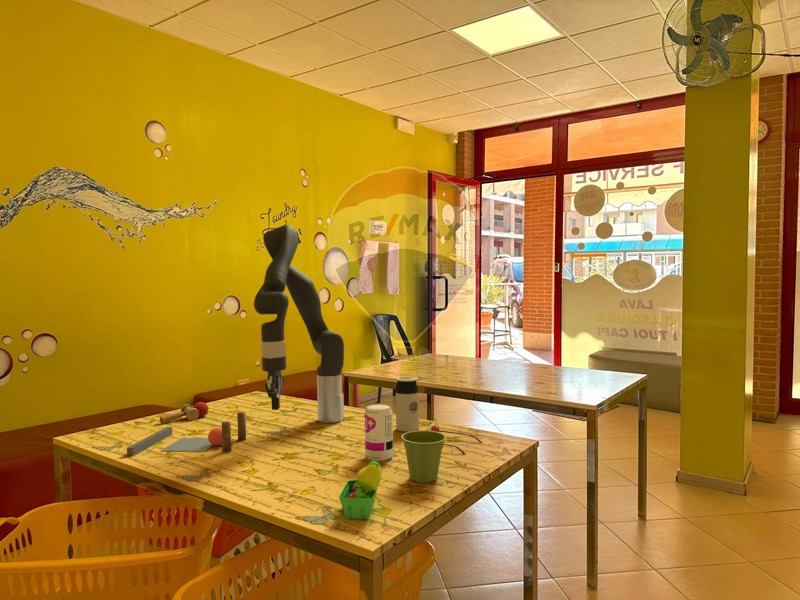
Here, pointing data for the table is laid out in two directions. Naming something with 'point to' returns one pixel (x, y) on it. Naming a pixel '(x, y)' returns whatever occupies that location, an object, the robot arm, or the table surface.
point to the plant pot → (423, 454)
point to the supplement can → (378, 432)
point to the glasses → (450, 432)
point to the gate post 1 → (226, 437)
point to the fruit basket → (361, 492)
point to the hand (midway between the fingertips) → (275, 409)
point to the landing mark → (189, 445)
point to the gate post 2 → (241, 426)
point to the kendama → (187, 412)
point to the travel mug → (407, 404)
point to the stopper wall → (149, 441)
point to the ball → (215, 436)
